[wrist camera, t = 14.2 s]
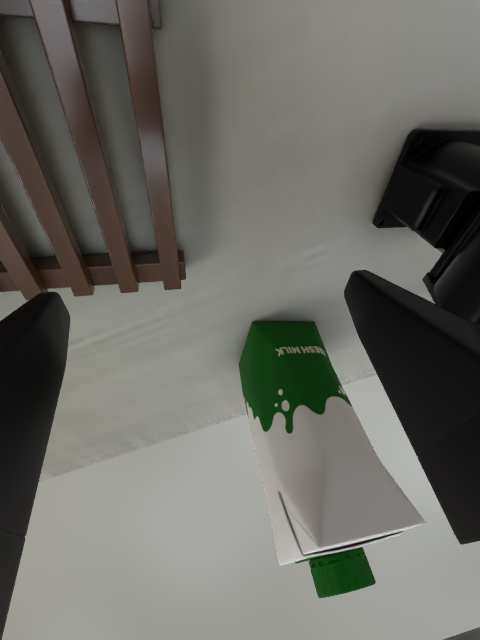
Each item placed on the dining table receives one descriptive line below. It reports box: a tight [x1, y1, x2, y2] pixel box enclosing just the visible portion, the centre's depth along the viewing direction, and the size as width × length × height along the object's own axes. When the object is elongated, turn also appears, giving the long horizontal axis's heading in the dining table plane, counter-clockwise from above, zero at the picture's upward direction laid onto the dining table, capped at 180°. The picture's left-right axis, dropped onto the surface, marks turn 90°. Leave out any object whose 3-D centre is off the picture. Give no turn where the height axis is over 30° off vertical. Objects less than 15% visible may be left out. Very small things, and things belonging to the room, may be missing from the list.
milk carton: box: [239, 322, 425, 598], centre depth 24 cm, size 9×9×20 cm
